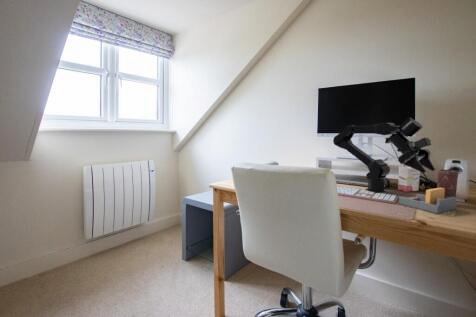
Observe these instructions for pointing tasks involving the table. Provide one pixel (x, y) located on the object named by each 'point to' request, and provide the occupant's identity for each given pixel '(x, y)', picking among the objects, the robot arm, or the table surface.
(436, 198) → the wedge
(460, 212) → the table surface
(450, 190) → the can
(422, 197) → the grey shallow open box
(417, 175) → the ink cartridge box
